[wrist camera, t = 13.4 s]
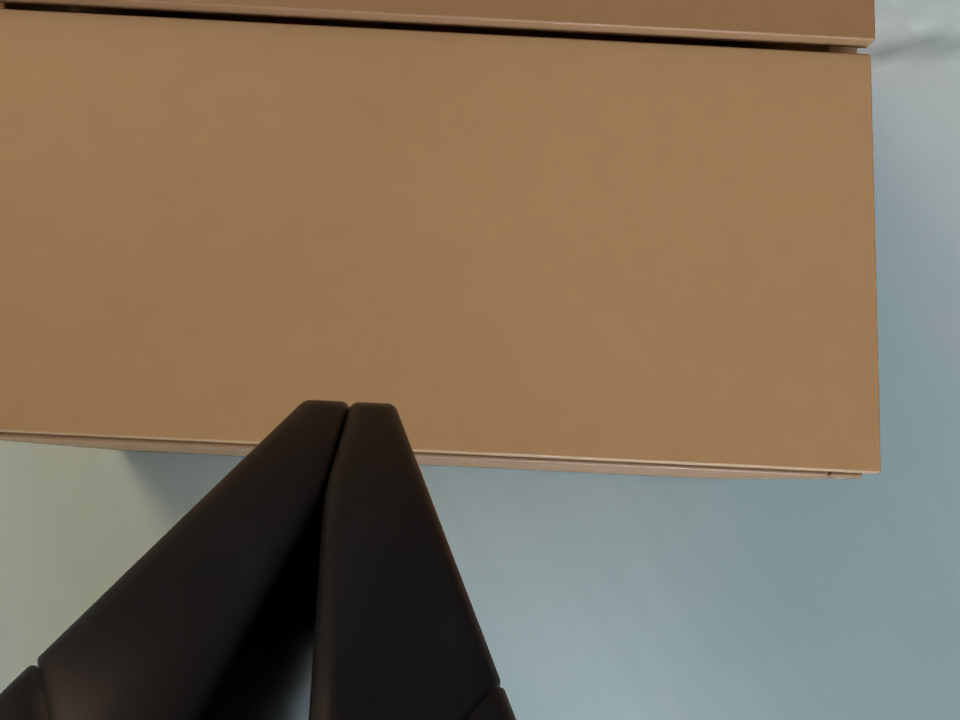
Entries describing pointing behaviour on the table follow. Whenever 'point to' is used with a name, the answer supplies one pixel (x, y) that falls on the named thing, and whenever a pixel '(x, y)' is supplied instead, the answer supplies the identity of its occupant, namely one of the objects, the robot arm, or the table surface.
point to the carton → (533, 13)
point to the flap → (438, 239)
